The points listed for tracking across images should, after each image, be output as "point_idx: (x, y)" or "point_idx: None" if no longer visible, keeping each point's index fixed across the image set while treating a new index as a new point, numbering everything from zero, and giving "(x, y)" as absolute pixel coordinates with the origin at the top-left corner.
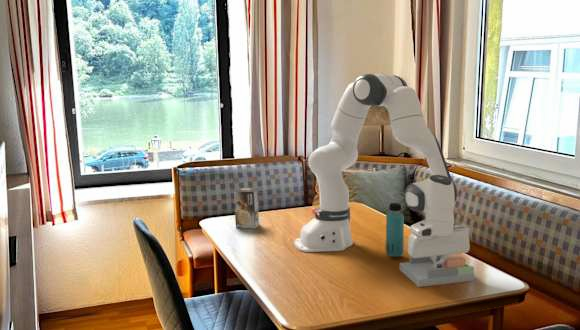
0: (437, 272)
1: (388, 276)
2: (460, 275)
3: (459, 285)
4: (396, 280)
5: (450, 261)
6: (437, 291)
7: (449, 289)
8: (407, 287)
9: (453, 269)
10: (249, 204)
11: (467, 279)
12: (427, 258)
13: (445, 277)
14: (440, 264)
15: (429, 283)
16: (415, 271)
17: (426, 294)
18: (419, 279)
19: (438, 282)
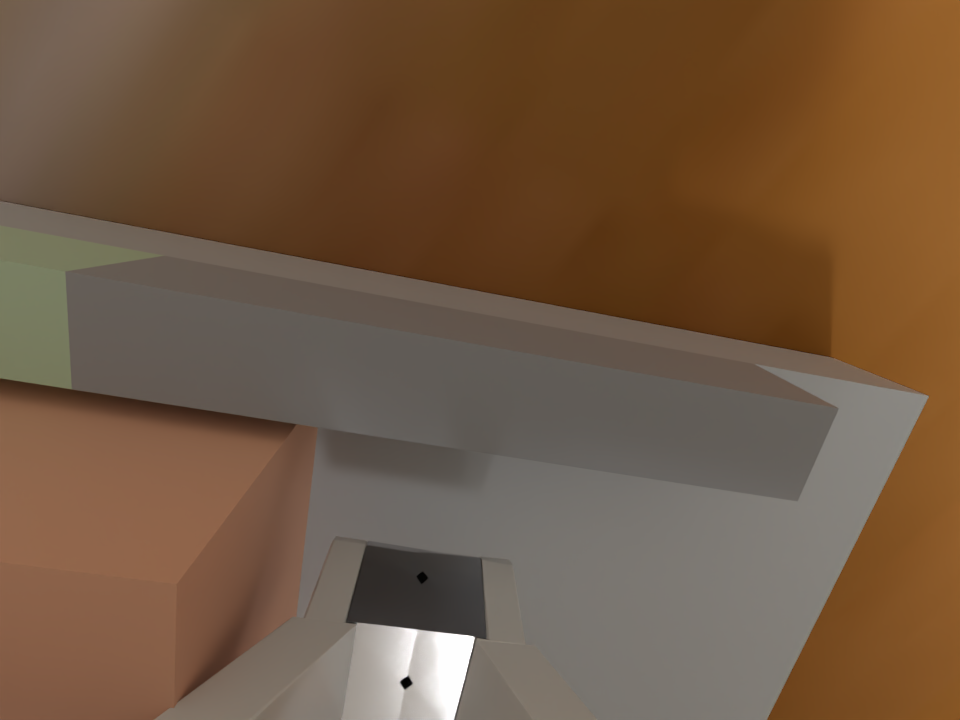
0: (637, 367)
1: (861, 713)
2: (116, 245)
3: (277, 129)
4: (880, 610)
5: (109, 541)
6: (738, 96)
7: (524, 68)
8: (949, 405)
9: (202, 316)
10: None
11: (34, 210)
12: None
13: (440, 303)
14: (396, 602)
15: (699, 337)
16: (714, 657)
17: (955, 80)
18: (915, 396)
19: (556, 312)
